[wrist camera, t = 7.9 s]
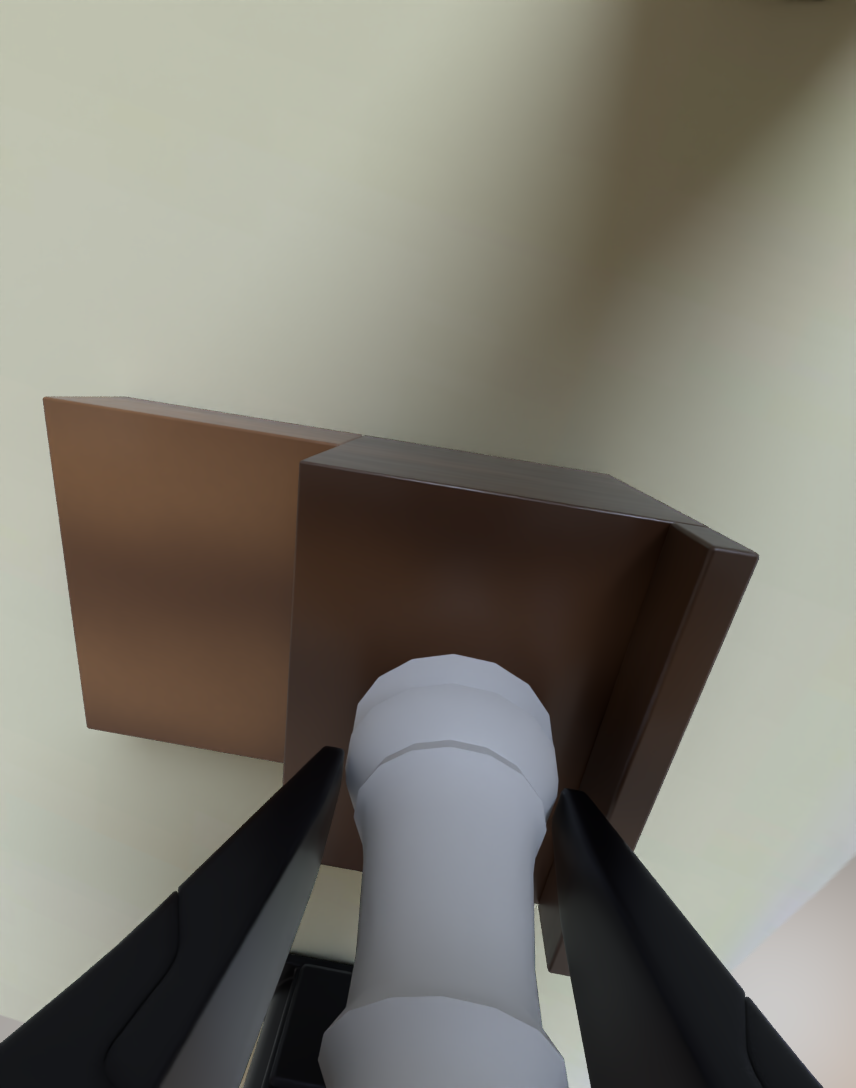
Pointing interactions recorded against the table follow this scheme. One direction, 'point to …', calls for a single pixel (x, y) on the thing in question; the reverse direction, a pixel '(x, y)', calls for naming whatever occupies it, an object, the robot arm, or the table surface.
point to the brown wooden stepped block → (377, 595)
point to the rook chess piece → (447, 883)
